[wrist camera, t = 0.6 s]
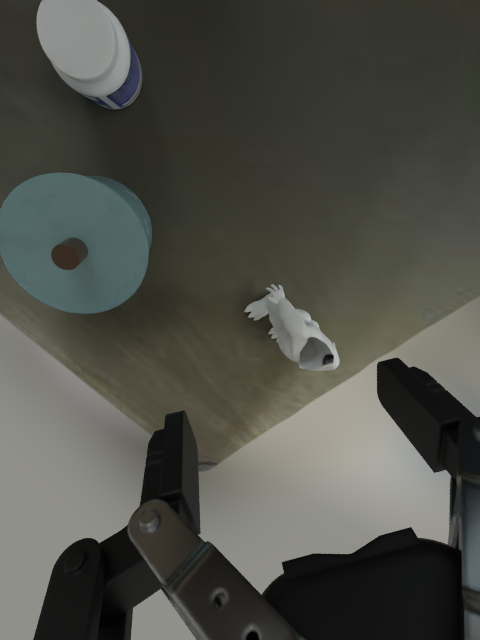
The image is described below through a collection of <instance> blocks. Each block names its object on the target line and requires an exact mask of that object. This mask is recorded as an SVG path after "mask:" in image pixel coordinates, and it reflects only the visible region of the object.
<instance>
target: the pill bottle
mask: <svg viewBox="0 0 480 640" xmlns="http://www.w3.org/2000/svg"><path fill="white" fill-rule="evenodd" d="M37 32H38V37H39V40H40V43H41V46H42V48H43V50H44V52H45V53H46V55H47V57H48V58H49V59H50V61H51V63H52V65H53V67H54V68H55V70H56V71H57V73H58V74H59V76H60V77H61V78H62V79H63V80H64V81H65V82H66V83H67V84H68V85H69V86H70V87H71V88H73V89H74V90H75V91H77V92H79V93H80V94H82V95H84V96H85V97H87V98H88V99H90V100H91V101H93V102H95V103H96V104H98V105H100V106H102V107H105V108H108V109H121V108H124V107H127V106H128V105H130V104H131V103H132V102H133V101H134V100H135V99H136V98H137V96H138V94H139V92H140V89H141V85H142V70H141V65H140V61H139V59H138V56H137V54H136V52H135V50H134V48H133V46H132V44H131V43H130V41H129V39H128V37H127V35H126V33H125V31H124V29H123V27H122V25H121V24H120V22H119V21H118V19H117V18H116V17H115V15H114V14H113V13H112V12H111V11H110V10H109V9H108V8H107V7H105V6H104V5H103V4H101V3H99V2H98V1H97V0H42V2H41V4H40V6H39V9H38V13H37Z"/></svg>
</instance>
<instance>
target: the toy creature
mask: <svg viewBox="0 0 480 640" xmlns="http://www.w3.org/2000/svg"><path fill="white" fill-rule="evenodd" d="M271 286H272V287H273V289H274V290H272V289H270V288H266V290H267V291H270V294H268V295H266V296H265V297H264V298H263V299H261V300H259V301H255V302H253V303H251V304H249V305H248V306H247V308H246V309H245V311H244V312H251V313H250V314H249V316H248V317H249V318H252V317H254V321H255V320H259V319H260V318H262V317H264V316H266V315H267V314H268V313H269V320H270V322H271V323H272V325H273V328H271V330H270V331H269V333H268V334H273V335H272V337H271V339H275V338H277V340H276V343H279V347H280V349H281V351H282V352H283V353H284V354H285V355H286V356H287V357H288V358H289V359H290V360H292V361H294V362H297V363H298V365H299V367H300V368H301V369H307V370H311V371H328V370H334V369H336V368H337V366H338V365H339V357H338V354H337V351H336V348H335V343H334V342H332V343H331V341H330V340H329V339H328V338H327V337H326V336H325V335H324V334H323V333H322V332H321V331H320V329H319V325H318V324H317V322H315V321H314V320H311V317H310V315H309V314H308V313H307V312H306V311H304V310H301V309H295V308H294V307H293V306H292V304H291V303H290V302H289V301H288V300H287V299H286V298H285V295H284V292H283V288H282V286H281V285H278V286H279V289H278V288H277V287H276V286H275V285H274V284H272V285H271Z"/></svg>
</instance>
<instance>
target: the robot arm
mask: <svg viewBox="0 0 480 640" xmlns="http://www.w3.org/2000/svg"><path fill="white" fill-rule="evenodd" d="M377 394H378V397H379V400H380V402H381V404H382V406H383V407H384V408H385V410H386V411H387V412H388V414H389V415H390V416H391V418H392V419H393V420H394V421H395V423H396V424H397V425H398V427H399V428H400V429H401V430H402V432H403V433H404V434H405V436H406V437H407V438H408V439H409V441H410V442H411V443H412V444H413V446H414V447H415V448H416V450H417V451H418V452H419V454H420V455H421V456H422V457H423V459H424V460H425V461H426V462H427V464H428V465H429V466H430V468H431V469H432V470H433V472H434V473H435V472H439V471H443V470H447V471H448V472H449V474H450V475H451V479H450V518H449V519H450V520H449V522H450V523H449V539H448V545H447V544H444V543H441V542H438V541H434V540H430V539H424V538H417V536H416V534H415V533H414V531H413V529H412V528H411V527H410V528H407V529H403V530H399V531H395V532H392V533H388V534H384V535H381V536H379V537H377V538H375V539H374V540H372V541H371V542H369V543H368V544H366V545H365V546H363V547H362V548H360V549H359V550H357V551H356V552H354V553H352V554H311V555H307V556H303V557H300V558H296V559H292V560H289V561H285V562H282V565H283V570H284V574H282V575H281V576H279V577H278V578H276V579H275V580H274V581H273V582H272V583H271V584H270V585H269V586H268V588H266V590H265V591H264V592H263V594H262V595H261V594H260V593H259V592H258V591H257V590H256V589H255V588H254V587H253V586H252V585H251V584H250V583H249V582H248V581H247V580H246V579H245V577H244V576H243V575H241V573H240V572H239V571H238V570H237V569H236V568H235V567H234V566H233V565H232V564H231V563H230V562H229V561H228V560H227V559H226V558H225V557H224V556H223V555H222V553H221V552H219V550H218V549H217V548H216V547H215V546H214V545H213V544H211V543H210V542H208V541H207V542H204V541H203V540H202V539H201V538H200V537H199V536H198V534H200V508H199V479H198V478H199V477H198V451H197V444H196V440H195V436H194V434H193V431H192V428H191V425H190V423H189V420H188V417H187V414H186V412H185V411H184V410H183V411H179V412H175V413H171V414H167V415H166V416H165V426H164V429H162V430H158V431H155V432H154V434H153V436H152V438H151V439H150V441H149V444H148V451H147V458H146V467H145V472H144V480H143V487H142V495H141V502H140V506H139V508H138V509H137V510H136V511H135V512H134V513H133V515H132V516H131V518H130V521H129V523H128V525H127V526H126V527H125V528H123V529H122V530H121V531H119V532H118V533H116V534H114V535H112V536H111V537H109V538H108V539H106V540H104V541H102V542H101V543H98V542H97V541H96V540H94V539H92V538H85V539H82V540H79V541H77V542H75V543H73V544H72V545H70V546H69V547H68V548H67V549H66V550H65V551H64V552H63V553H62V554H61V555H60V557H59V558H58V560H57V561H56V563H55V565H54V568H53V570H52V574H51V577H50V582H49V585H48V588H47V592H46V596H45V599H44V603H43V607H42V610H41V614H40V618H39V621H38V625H37V629H36V632H35V636H34V639H33V640H131V627H132V613H133V607H135V606H136V605H138V604H139V603H141V602H142V601H144V600H145V599H146V598H148V597H149V596H151V595H152V594H154V593H155V592H157V591H158V590H160V589H161V590H162V591H163V592H164V594H165V595H166V597H167V598H168V600H169V601H170V603H171V604H172V605H173V607H174V608H175V609H176V611H177V612H178V614H179V615H180V617H181V618H182V620H183V621H184V622H185V624H186V625H187V627H188V628H189V630H190V631H191V632H192V634H193V635H194V637H195V638H196V640H480V417H476V416H474V415H473V414H472V413H471V412H470V411H469V410H468V409H467V408H466V407H465V406H463V405H462V404H461V403H460V402H459V401H458V400H457V399H456V398H454V397H453V396H452V395H451V394H450V393H449V392H448V391H446V390H445V389H444V387H442V386H441V385H440V384H439V383H437V381H436V380H435V379H434V378H433V377H431V376H430V375H429V374H428V373H427V372H425V371H422V370H420V369H418V368H416V367H410V368H409V367H408V366H406V365H405V364H404V363H403V362H402V361H401V360H400V359H399V358H393V359H389V360H386V361H381V362H378V364H377Z"/></svg>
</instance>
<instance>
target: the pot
mask: <svg viewBox="0 0 480 640" xmlns="http://www.w3.org/2000/svg"><path fill="white" fill-rule="evenodd" d="M151 242H152V226H151V222H150V218H149V215H148V213H147V211H146V209H145V207H144V205H143V204H142V202H141V201H140V199H139V198H138V197H137V196H136V195H135V194H134V193H133V192H132V191H131V190H130V189H128V188H127V187H126V186H124V185H123V184H121V183H119V182H117V181H115V180H112V179H110V178H106V177H102V176H83V175H79V174H73V173H49V174H42V175H39V176H36V177H33V178H31V179H29V180H26V181H24V182H23V183H22V184H20V185H19V186H17V187H16V188H15V189H14V190H13V191H12V192H11V193H10V194H9V195H8V197H7V198H6V199H5V201H4V203H3V205H2V207H1V209H0V255H1V258H2V260H3V262H4V264H5V266H6V268H7V270H8V271H9V273H10V274H11V276H12V277H13V278H14V280H15V281H16V282H17V283H18V284H19V285H20V286H21V287H22V288H23V289H24V290H25V291H26V292H27V293H29V294H30V295H31V296H33V297H34V298H36V299H37V300H39V301H40V302H42V303H44V304H46V305H48V306H50V307H53V308H55V309H58V310H62V311H65V312H71V313H79V314H91V313H98V312H103V311H107V310H110V309H112V308H115V307H117V306H119V305H120V304H122V303H123V302H125V301H126V300H127V299H129V298H130V297H131V296H132V295H133V294H134V293H135V292H136V290H137V289H138V287H139V286H140V284H141V282H142V280H143V278H144V276H145V273H146V270H147V265H148V254H149V249H150V246H151Z"/></svg>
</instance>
